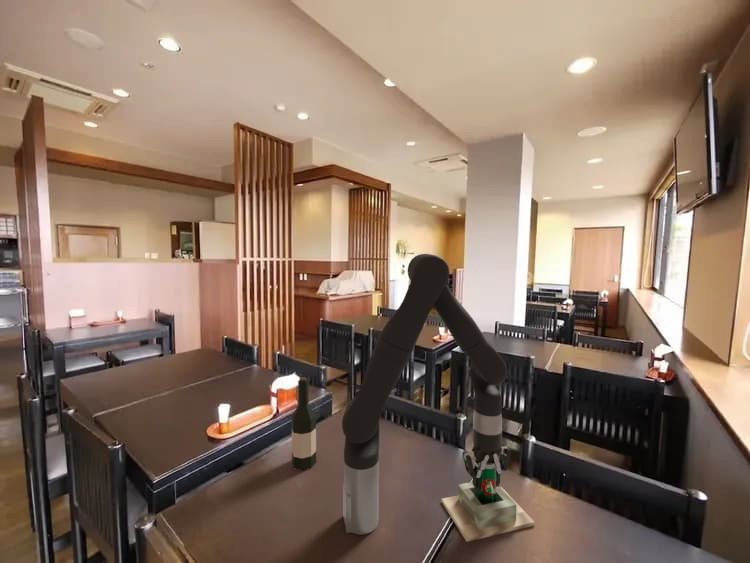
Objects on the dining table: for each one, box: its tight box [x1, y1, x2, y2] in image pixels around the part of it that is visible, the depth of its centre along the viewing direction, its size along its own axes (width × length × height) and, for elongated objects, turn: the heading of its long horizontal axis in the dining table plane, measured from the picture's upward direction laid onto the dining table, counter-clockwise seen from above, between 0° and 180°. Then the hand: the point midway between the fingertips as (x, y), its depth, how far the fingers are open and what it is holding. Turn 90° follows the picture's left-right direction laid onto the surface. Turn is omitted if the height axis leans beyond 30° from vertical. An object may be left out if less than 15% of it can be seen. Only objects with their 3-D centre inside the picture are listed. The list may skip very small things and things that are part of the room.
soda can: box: [477, 461, 497, 505], centre depth 89 cm, size 5×5×12 cm
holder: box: [440, 481, 535, 543], centre depth 90 cm, size 20×14×6 cm
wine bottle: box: [291, 376, 317, 471], centre depth 112 cm, size 8×8×30 cm
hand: (486, 486), depth 89 cm, fingers closed on soda can, 5 cm apart
